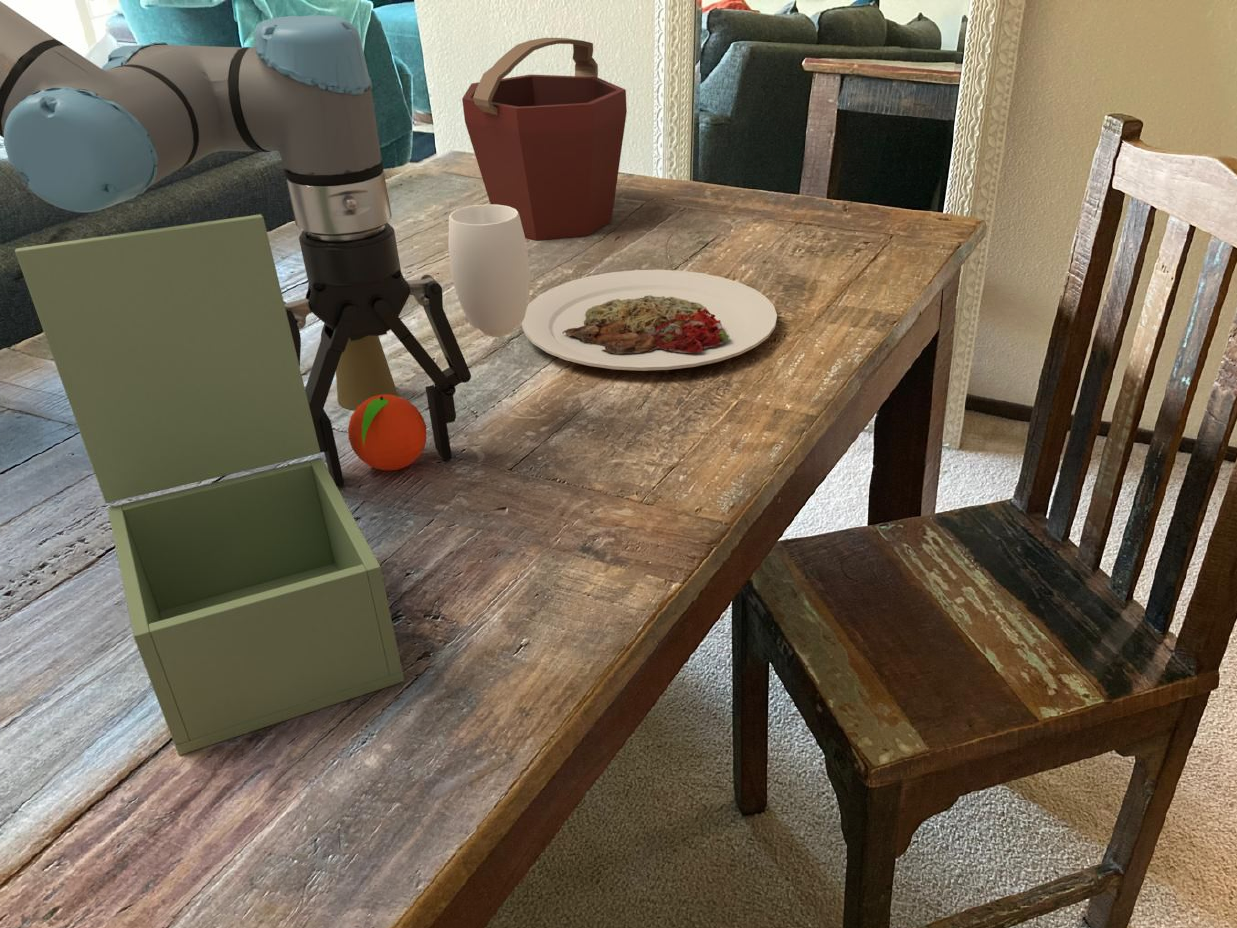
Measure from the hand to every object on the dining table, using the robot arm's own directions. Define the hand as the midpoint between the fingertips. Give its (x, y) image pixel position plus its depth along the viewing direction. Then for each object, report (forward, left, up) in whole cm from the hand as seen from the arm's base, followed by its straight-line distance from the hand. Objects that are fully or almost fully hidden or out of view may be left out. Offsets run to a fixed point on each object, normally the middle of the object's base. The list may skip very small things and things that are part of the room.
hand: (391, 466), depth 102 cm
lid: (+13, -15, +19) cm, 28 cm away
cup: (-4, +13, 0) cm, 14 cm away
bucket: (-61, +42, 0) cm, 74 cm away
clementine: (0, 0, 0) cm, 0 cm away
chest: (+22, -15, 0) cm, 27 cm away
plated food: (-18, +36, 0) cm, 40 cm away
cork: (-16, +2, 0) cm, 16 cm away
